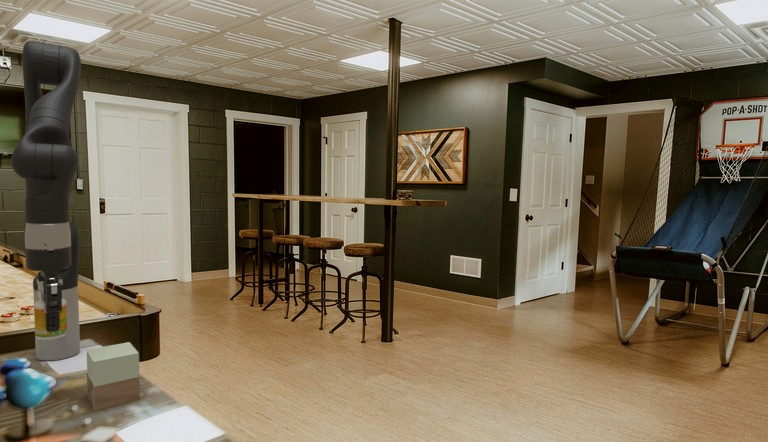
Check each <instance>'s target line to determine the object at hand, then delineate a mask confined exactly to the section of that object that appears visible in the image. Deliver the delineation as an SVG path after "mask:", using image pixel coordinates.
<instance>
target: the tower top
mask: <svg viewBox="0 0 768 442" xmlns="http://www.w3.org/2000/svg"><path fill="white" fill-rule="evenodd" d="M87 374H88V376H89V378H90V380H91V382H92V384H93V385H94V387H96V386H100V385H105V384H109V383H114V382H118V381H123V380H127V379H132V378H136V377H139V378H140V353H139V351H138V350H137V349H136V347H134V346H133V344H132V343H131V342H129V341H127V342H124V343H123V342H122V343H117V344H110V345H104V346H100V347H94V348H88V349H86V375H87Z"/></svg>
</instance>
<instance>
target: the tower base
mask: <svg viewBox="0 0 768 442" xmlns="http://www.w3.org/2000/svg"><path fill="white" fill-rule="evenodd" d="M86 389H87V390H86V393H87V394H86V395H87V397H88V400H89V402H90V404H91V405H92V408H93V410H94V411H99V410H103V409H107V408H110V407H114V406H118V405H121V404H127V403H131V402H133V401H139V400H140V399H141V397H140V396H141V395H140V390H141V389H140V376H139V377H136V378H132V379H127V380H123V381H118V382H114V383H109V384H105V385H100V386H96V387H94V385H93V384H92V382H91V380H90V378H89V376H88V374H87V373H86Z"/></svg>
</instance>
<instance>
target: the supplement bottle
mask: <svg viewBox="0 0 768 442" xmlns="http://www.w3.org/2000/svg"><path fill="white" fill-rule="evenodd" d="M44 295H45V294H44ZM45 297H46V295H45ZM38 298H40V299H39V300H37V301H36V302H35V304H34V303H33V313H34V317H35V318H34V337H36V338H37V339H40V340H51V339H57V338H60V337H63V336H65V335H66V334H67V306H66V300H65V299H64V298H62V311H60V312H59V318H60V329H59V330H58V331H52V332H47V331H46V314H45V312H44V310H45V305H44V303H43V302H41V294H40V289H39V290H38ZM50 306H57V305H56V301H54V302H50Z"/></svg>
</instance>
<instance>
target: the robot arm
mask: <svg viewBox="0 0 768 442" xmlns="http://www.w3.org/2000/svg"><path fill="white" fill-rule="evenodd" d="M21 56H22V57H21V59H22V63H21V64H22V77H23V91H24V104H25V129H24V132H25V133H24V135H23V136H22V137H21V139H20V140H19V141H18V142H17V144H16V146H15V147H14V150H13V151H12V155H11V161H10V162H11V167H12V169H13V172H15V175H17V176H18V177H20V178H22V179H25V200H24V201H25V203H24V204H25V205H24V206H25V207H24V209H25V210H24V222H23V234H22V235H23V238H22V244H23V245H22V246H23V253H24V256H25V268H26V270H28V271H33V272H38V273H37V275H36V276H35V277H34V278H33V280H32V289H33V290H32V291H33V305H34V304H35V302H36V301H37V300H39V299H40V298H38V290H39V289H40V294H41V302H43V303H44V305H45V310H44V312H45V314H46V331H47V332H52V331H58V330H59V329H60V318H59V312H60V311H62V298H64V299H65V300H66V306H67V334H66V335H65V336H63V337H60V338H57V339H51V340H40V339H37V338H36V337H35V336H34V337H35V341H34V342H35V358H36V359H37V360H39V361H46V362H47V361H58V360H64V359H66V358H67V359H68V358H70V357H73V356H75V355H77V354H79V353H80V352H81V345H80V344H81V340H80V338H81V337H80V310H79V309H80V307H79V306H80V305H79V304H80V303H79V302H80V301H79V258H80V257H79V256H80V253H79V252H80V236H79V231H78V227H77V226H76V225H75V224H74V223H72V222H70V219H69V217H70V216H69V215H70V214H69V213H70V212H69V201H70V193H71V189H72V184H73V182H74V179H75V176H76V172H77V169H78V165H79V157H78V154H77V152H76V151H75V150H74V148H73V145H72V141H71V139H70V127H71V115H72V111H73V107H74V104H75V101H76V97H77V94H78V90H79V87H80V83H81V78H82V77H81V75H82V63H81V62H82V60H81V57H80V54H79V52H78V50H76V49H74V48H73V47H71V46H70V47H69V46H66V45H59V44H52V43H47V42H41V41H36V40H27V41H26V42H25V43H24V45H23V47H22V55H21ZM42 85H45V86H47V85H49V86H53V89H52V90H50V91H49V92H47V93H46V94H44V93H43V91H42ZM54 86H56V87H54ZM44 294H45V295H46V297H45V295H44ZM54 301H56V305H57V306H50V302H54ZM33 319H35V317H34V318H33Z"/></svg>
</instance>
